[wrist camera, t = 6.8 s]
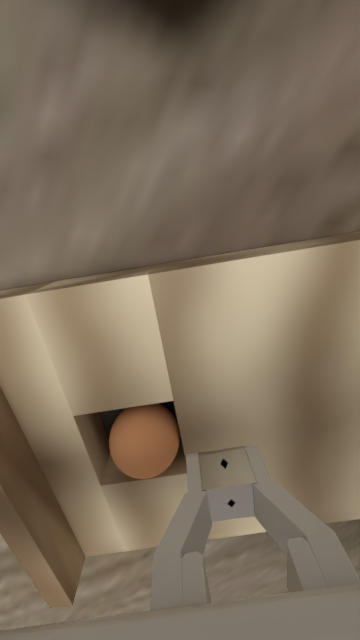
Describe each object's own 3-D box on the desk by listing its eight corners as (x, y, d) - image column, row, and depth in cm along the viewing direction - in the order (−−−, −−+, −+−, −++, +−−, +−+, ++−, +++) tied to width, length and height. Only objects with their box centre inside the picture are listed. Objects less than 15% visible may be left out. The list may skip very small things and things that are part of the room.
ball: (175, 383, 13) (171, 437, 10) (184, 432, 14) (183, 494, 11) (113, 390, 13) (88, 444, 10) (127, 437, 15) (110, 499, 11)
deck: (453, 215, 11) (632, 206, 7) (397, 469, 16) (475, 551, 12) (-21, 293, 11) (-136, 331, 7) (80, 513, 17) (50, 607, 13)
